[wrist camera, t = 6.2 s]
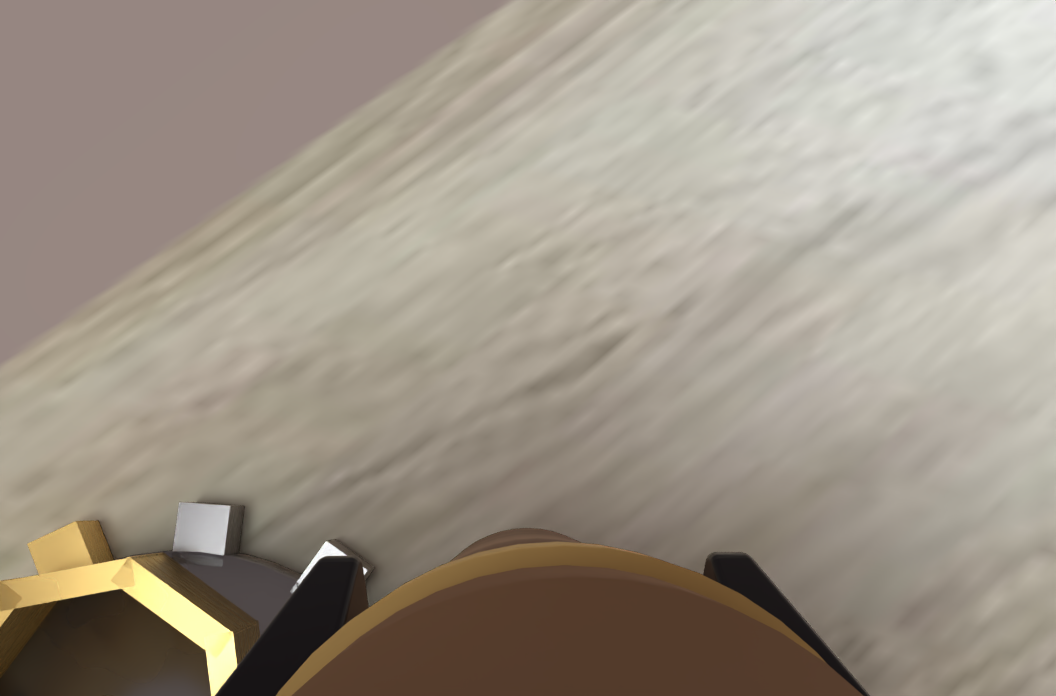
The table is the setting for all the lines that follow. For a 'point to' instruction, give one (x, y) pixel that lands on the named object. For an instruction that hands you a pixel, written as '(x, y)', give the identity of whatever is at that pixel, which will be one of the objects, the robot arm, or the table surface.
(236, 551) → the sprocket
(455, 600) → the peg
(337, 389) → the table surface
